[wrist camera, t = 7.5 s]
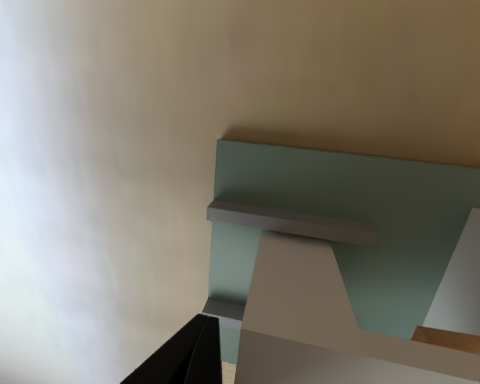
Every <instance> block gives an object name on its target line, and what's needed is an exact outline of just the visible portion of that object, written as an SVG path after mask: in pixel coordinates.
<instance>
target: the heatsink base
mask: <svg viewBox="0 0 480 384" xmlns="http://www.w3.org/2000/svg"><path fill="white" fill-rule="evenodd" d="M207 220H211V221H212V238H211V256H210V273H209V290H208V300H207V302H206V304H205V306H204V309H203V311H202V314H204V315H208V316H213V317H218V318H219V322H220V343H221V361H224V362H228V363H232V364H236V365H237V357H238V348H239V340H240V331H241V325H242V321H243V316H244V312H245V307H246V302H247V298H248V293H249V289H250V284H251V279H252V275H253V270H254V266H255V261H256V256H257V252H258V247H259V243H260V238H261V233H262V230H265V231H272V232H278V233H284V234H290V235H296V236H302V237H308V238H314V239H320V240H326V241H330V244H331V247H332V250H333V253H334V256H335V259H336V262H337V265H338V268H339V271H340V274H341V277H342V280H343V283H344V286H345V289H346V292H347V295H348V298H349V301H350V304H351V307H352V310H353V313H354V316H355V319H356V322H357V325H358V328H359V329H360V330H365V331H369V332H374V333H379V334H384V335H388V336H393V337H398V338H402V339H407V340H411V338H412V336H413V334H414V331H415V329H416V326H424V327H430V328H436V329H442V330H448V331H454V332H460V333H466V334H472V335H478V336H480V168H477V167H468V166H459V165H450V164H442V163H433V162H424V161H415V160H406V159H397V158H388V157H379V156H370V155H361V154H353V153H344V152H335V151H326V150H317V149H308V148H299V147H290V146H281V145H273V144H264V143H255V142H246V141H237V140H228V139H218V140H217V152H216V169H215V186H214V200H213V201H212V202H211V203H210V205H209V206H208V207H207Z"/></svg>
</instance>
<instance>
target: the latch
mask: <svg viewBox="0 0 480 384" xmlns="http://www.w3.org/2000/svg"><path fill="white" fill-rule="evenodd" d="M234 384H480V355H478V354H473V353H468V352H463V351H459V350H454V349H449V348H445V347H440V346H435V345H431V344H426V343H421V342H416V341H412V340H407V339H402V338H398V337H393V336H388V335H384V334H379V333H374V332H369V331H365V330H360V329H359V328H358V325H357V322H356V319H355V316H354V313H353V310H352V307H351V304H350V301H349V298H348V295H347V292H346V289H345V286H344V283H343V280H342V277H341V274H340V271H339V268H338V265H337V262H336V259H335V256H334V253H333V250H332V247H331V244H330V241H326V240H320V239H314V238H308V237H302V236H296V235H290V234H284V233H278V232H272V231H265V230H262V233H261V238H260V243H259V247H258V252H257V256H256V261H255V266H254V270H253V275H252V279H251V284H250V289H249V293H248V298H247V302H246V307H245V312H244V316H243V321H242V325H241V331H240V340H239V348H238V357H237V365H236V374H235V382H234Z"/></svg>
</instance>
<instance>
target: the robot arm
mask: <svg viewBox="0 0 480 384" xmlns="http://www.w3.org/2000/svg"><path fill="white" fill-rule="evenodd" d="M120 384H222V363H221V343H220V322H219V318H218V317H213V316H208V315H204V314H197V315H196V316H195V317H194V318H192V319H191V320H190V321H189V322H188V323H187V324H186V325H185V326H184V327H182V328H181V329H180V330H179V331H178V332H177V333H176V334H175V335H173V336H172V337H171V338H170V339H169V340H168V341H167V342H166V343H164V344H163V345H162V346H161V347H160V348H159V349H158V350H157V351H156V352H154V353H153V354H152V355H151V356H150V357H149V358H148V359H147V360H145V361H144V362H143V363H142V364H141V365H140V366H139V367H138V368H136V369H135V370H134V371H133V372H132V373H131V374H130V375H129V376H128V377H126V378H125V379H124V380H123V381H122V382H121V383H120Z"/></svg>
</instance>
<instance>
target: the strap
mask: <svg viewBox="0 0 480 384" xmlns="http://www.w3.org/2000/svg"><path fill="white" fill-rule="evenodd" d="M411 340H412V341H416V342H421V343H426V344H431V345H435V346H440V347H445V348H449V349H454V350H459V351H463V352H468V353H473V354H478V355H480V336H478V335H472V334H466V333H460V332H454V331H448V330H442V329H436V328H430V327H424V326H416V329H415V331H414V334H413V336H412V338H411Z"/></svg>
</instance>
